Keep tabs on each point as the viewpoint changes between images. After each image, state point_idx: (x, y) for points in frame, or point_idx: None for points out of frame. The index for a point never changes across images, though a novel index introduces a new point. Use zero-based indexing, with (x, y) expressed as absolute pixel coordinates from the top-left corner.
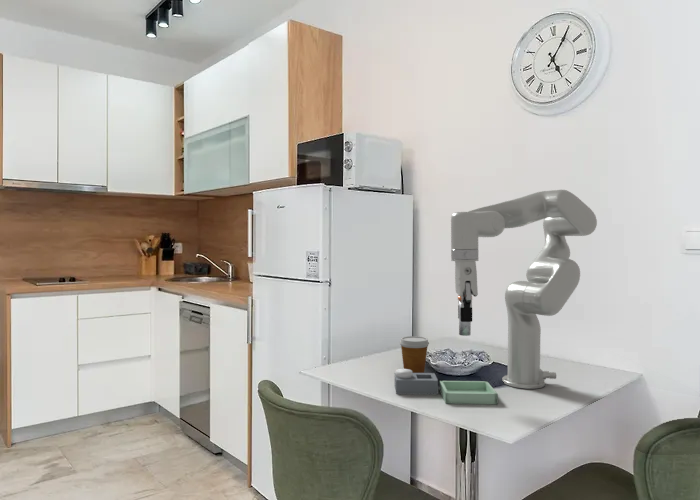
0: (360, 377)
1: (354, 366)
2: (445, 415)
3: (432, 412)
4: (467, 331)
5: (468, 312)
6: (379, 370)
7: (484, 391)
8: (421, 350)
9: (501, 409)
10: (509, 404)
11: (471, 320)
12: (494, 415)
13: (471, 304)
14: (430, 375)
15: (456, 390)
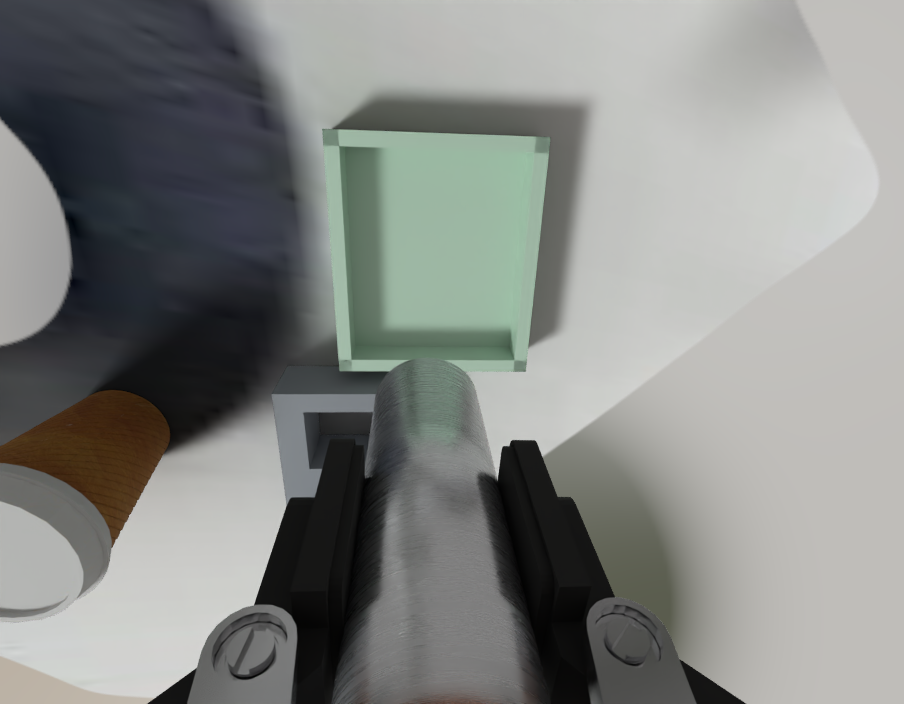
0: (212, 597)
1: (53, 620)
2: (640, 372)
3: (605, 407)
4: (480, 411)
5: (596, 570)
6: None
7: (379, 158)
8: (94, 489)
9: (607, 139)
10: (544, 74)
11: (534, 451)
12: (671, 193)
13: (674, 665)
14: (304, 411)
15: (372, 291)
